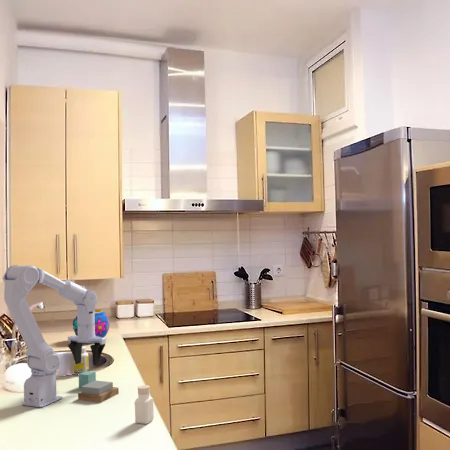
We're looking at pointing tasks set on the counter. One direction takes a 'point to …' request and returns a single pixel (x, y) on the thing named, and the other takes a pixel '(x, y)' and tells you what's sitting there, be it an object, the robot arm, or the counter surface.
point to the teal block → (86, 378)
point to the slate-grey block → (97, 387)
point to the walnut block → (98, 398)
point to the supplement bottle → (82, 363)
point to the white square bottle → (144, 405)
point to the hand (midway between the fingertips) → (87, 364)
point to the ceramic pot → (96, 324)
